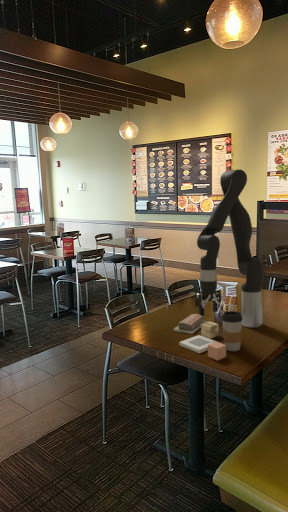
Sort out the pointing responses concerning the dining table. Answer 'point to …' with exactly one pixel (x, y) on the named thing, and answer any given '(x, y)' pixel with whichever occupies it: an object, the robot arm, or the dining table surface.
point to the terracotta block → (217, 351)
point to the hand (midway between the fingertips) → (208, 313)
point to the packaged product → (190, 324)
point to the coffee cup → (232, 330)
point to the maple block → (209, 330)
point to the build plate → (197, 343)
